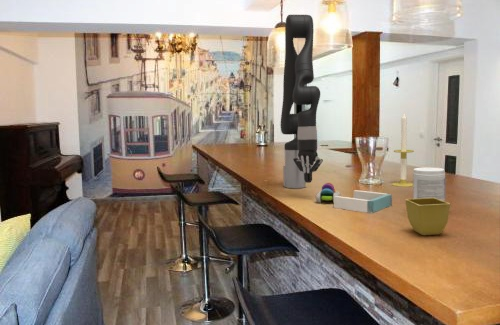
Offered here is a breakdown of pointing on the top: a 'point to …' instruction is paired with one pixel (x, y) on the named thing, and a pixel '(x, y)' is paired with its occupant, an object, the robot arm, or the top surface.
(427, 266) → the top surface
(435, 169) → the supplement tub
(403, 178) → the candle
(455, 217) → the top surface
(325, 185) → the multicoloured petal flower toy
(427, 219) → the flower pot
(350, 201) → the bay
